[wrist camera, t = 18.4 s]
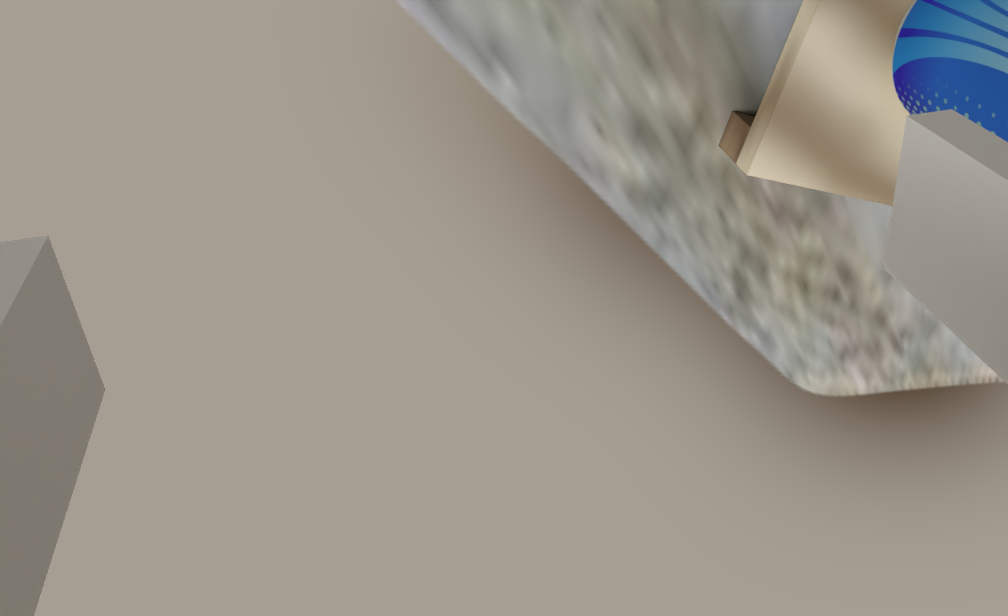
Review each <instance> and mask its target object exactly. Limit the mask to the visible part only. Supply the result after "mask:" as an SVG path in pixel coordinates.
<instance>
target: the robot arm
mask: <svg viewBox="0 0 1008 616" xmlns="http://www.w3.org/2000/svg"><path fill="white" fill-rule="evenodd" d="M883 268H884V269H885V270H886V271H887V272H889V273H890V274H891V275H892V276H893V277H894V278H895V279H896V280H897V281H898V282H899V283H900V284H901V285H902V286H904V287H905V288H906V289H907V290H908V291H909V292H910V293H911V294H912V295H913V296H914V297H915V298H916V299H917V300H918V301H920V302H921V303H922V304H923V305H924V306H925V307H926V308H927V309H928V310H929V311H930V312H931V313H932V314H933V315H934V316H936V317H937V318H938V319H939V320H940V321H941V322H942V323H943V324H944V325H945V326H946V327H947V328H948V329H949V330H950V331H952V332H953V333H954V334H955V335H956V336H957V337H958V338H959V339H960V340H961V341H962V342H963V343H964V344H965V345H967V346H968V347H969V348H970V349H971V350H972V351H973V352H974V353H975V354H976V355H977V356H978V357H979V358H980V359H981V360H983V361H984V362H985V363H986V364H987V365H988V366H989V367H990V368H991V369H992V370H993V371H994V372H995V373H996V374H997V375H999V376H1000V377H1001V378H1002V379H1003V380H1004V381H1005V382H1006V383H1007V384H1008V142H1007V141H1005V140H1003V139H1002V138H1000V137H998V136H997V135H995V134H993V133H991V132H990V131H988V130H986V129H985V128H983V127H981V126H980V125H978V124H976V123H974V122H973V121H971V120H969V119H968V118H966V117H964V116H963V115H961V114H959V113H957V112H956V111H954V110H952V109H950V110H943V111H936V112H928V113H921V114H914V115H907V116H906V123H905V129H904V136H903V142H902V148H901V155H900V161H899V167H898V174H897V180H896V187H895V193H894V199H893V206H892V212H891V218H890V225H889V231H888V238H887V244H886V250H885V257H884V263H883ZM104 391H105V388H104V385H103V383H102V380H101V377H100V374H99V372H98V369H97V366H96V364H95V361H94V358H93V355H92V353H91V350H90V347H89V345H88V342H87V339H86V337H85V334H84V331H83V329H82V326H81V323H80V320H79V318H78V315H77V312H76V310H75V307H74V304H73V302H72V299H71V296H70V293H69V291H68V288H67V286H66V283H65V280H64V277H63V275H62V272H61V269H60V267H59V264H58V261H57V258H56V256H55V253H54V250H53V248H52V245H51V242H50V239H49V237H48V236H42V237H35V238H28V239H21V240H13V241H6V242H0V616H34V613H35V610H36V607H37V603H38V600H39V597H40V594H41V591H42V588H43V585H44V581H45V578H46V575H47V572H48V569H49V566H50V562H51V559H52V556H53V553H54V549H55V547H56V543H57V540H58V537H59V534H60V531H61V528H62V524H63V521H64V518H65V515H66V512H67V509H68V505H69V502H70V499H71V496H72V493H73V489H74V487H75V483H76V480H77V477H78V474H79V471H80V468H81V464H82V461H83V458H84V455H85V451H86V449H87V445H88V442H89V439H90V436H91V433H92V429H93V426H94V423H95V420H96V417H97V414H98V410H99V407H100V404H101V401H102V398H103V395H104Z"/></svg>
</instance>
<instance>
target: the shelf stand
mask: <svg viewBox="0 0 1008 616" xmlns="http://www.w3.org/2000/svg"><path fill="white" fill-rule="evenodd" d="M913 1H914V0H803V2H802V5H801V7H800V10H799V12H798V14H797V17H796V19H795V22H794V24H793V26H792V29H791V31H790V34H789V36H788V39H787V41H786V43H785V46H784V48H783V51H782V53H781V56H780V58H779V60H778V63H777V65H776V68H775V70H774V73H773V75H772V77H771V80H770V82H769V85H768V87H767V90H766V92H765V94H764V97H763V99H762V102H761V104H760V106H759V109H758V111H757V114H756V116H752V115H748V114H743V113H739V112H735V111H732V113H731V116H730V118H729V121H728V123H727V126H726V128H725V131H724V133H723V136H722V138H721V141H720V143H719V147H720V148H721V149H722V150H723V151H724V152H725V153H726V154H727V155H728V156H729V157H730V158H731V159H732V160H733V161H734V162H735V163H736V164H737V165H738V166H739V167H740V168H741V169H742V170H743V171H744V172H745V173H746V174H747V175H749V176H754V177H759V178H763V179H768V180H773V181H778V182H782V183H787V184H792V185H797V186H801V187H806V188H811V189H815V190H820V191H825V192H830V193H834V194H839V195H844V196H849V197H853V198H858V199H863V200H868V201H872V202H877V203H882V204H887V205H891V206H893V199H894V193H895V187H896V180H897V174H898V167H899V161H900V155H901V148H902V142H903V136H904V129H905V123H906V116H907V115H911V114H910V113H909V112H908V111H907V110H906V109H905V108H904V106H903V105H902V104H901V102H900V100H899V98H898V96H897V93H896V91H895V87H894V84H893V77H892V57H893V49H894V42H895V38H896V34H897V31H898V28H899V25H900V23H901V21H902V19H903V17H904V15H905V13H906V11H907V9H908V8H909V6H910V5H911V3H912V2H913Z"/></svg>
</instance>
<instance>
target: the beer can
mask: <svg viewBox="0 0 1008 616" xmlns="http://www.w3.org/2000/svg"><path fill="white" fill-rule="evenodd" d="M892 77H893V84H894V87H895V91H896V93H897V96H898V98H899V100H900V102H901V104H902V105H903V106H904V108H905V109H906V110H907V111H908V112H909V113H910V114H911V115H914V114H921V113H928V112H936V111H943V110H950V109H952V110H954V111H956V112H957V113H959V114H961V115H963V116H964V117H966V118H968V119H969V120H971V121H973V122H974V123H976V124H978V125H980V126H981V127H983V128H985V129H986V130H988V131H990V132H991V133H993V134H995V135H997V136H998V137H1000V138H1002V139H1003V140H1005V141H1007V142H1008V0H914V1H913V2H912V3H911V5H910V6H909V8H908V9H907V11H906V13H905V15H904V17H903V19H902V21H901V23H900V25H899V28H898V31H897V34H896V38H895V42H894V49H893V57H892Z"/></svg>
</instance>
